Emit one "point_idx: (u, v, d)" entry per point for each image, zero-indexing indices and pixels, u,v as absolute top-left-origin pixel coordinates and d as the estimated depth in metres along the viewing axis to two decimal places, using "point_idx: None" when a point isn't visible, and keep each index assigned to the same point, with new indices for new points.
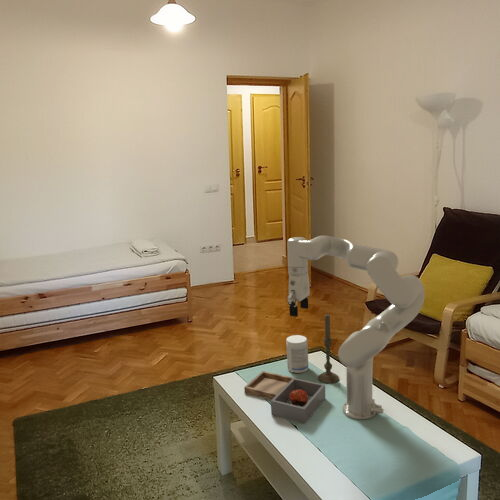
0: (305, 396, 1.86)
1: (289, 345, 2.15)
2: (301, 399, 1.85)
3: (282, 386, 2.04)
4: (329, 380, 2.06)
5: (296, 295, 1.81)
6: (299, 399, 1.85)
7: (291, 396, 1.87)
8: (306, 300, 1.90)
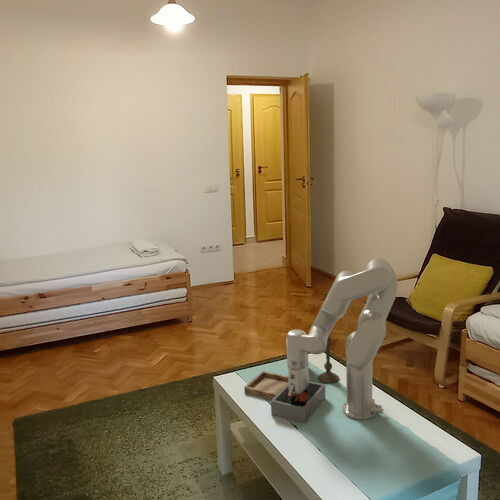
0: (305, 396, 1.86)
1: None
2: (301, 399, 1.85)
3: (282, 386, 2.04)
4: (329, 380, 2.06)
5: (296, 390, 1.82)
6: (299, 399, 1.84)
7: None
8: (305, 392, 1.90)
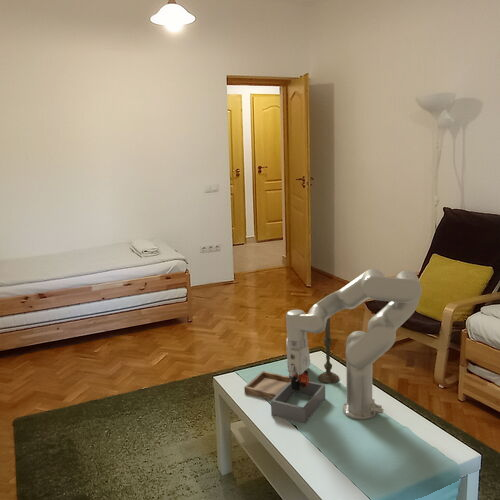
0: (306, 377, 1.84)
1: None
2: (302, 380, 1.83)
3: (282, 386, 2.04)
4: (329, 380, 2.06)
5: (297, 371, 1.80)
6: (299, 380, 1.83)
7: None
8: (306, 373, 1.88)
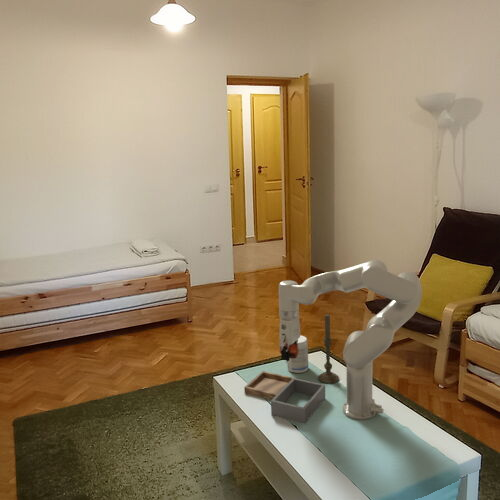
0: (295, 348, 1.85)
1: None
2: (291, 350, 1.84)
3: (282, 386, 2.04)
4: (329, 380, 2.06)
5: (287, 341, 1.81)
6: (289, 350, 1.84)
7: None
8: None
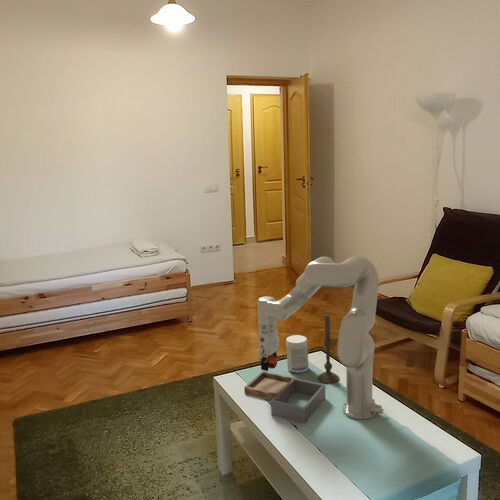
0: (274, 359, 1.99)
1: (289, 345, 2.15)
2: (270, 361, 1.98)
3: (282, 386, 2.04)
4: (329, 380, 2.06)
5: (265, 352, 1.95)
6: (268, 361, 1.98)
7: None
8: (275, 355, 2.04)
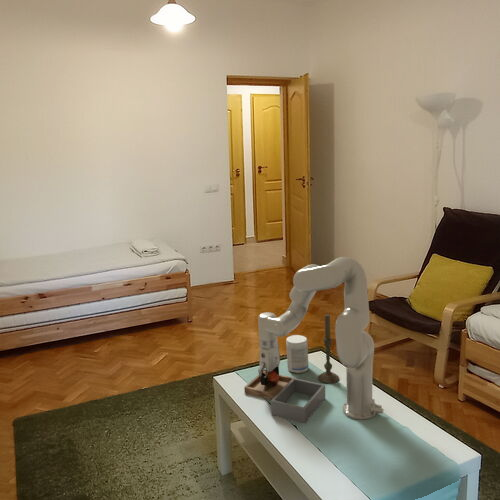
0: (276, 376, 2.01)
1: (289, 345, 2.15)
2: (272, 379, 2.00)
3: (282, 386, 2.04)
4: (329, 380, 2.06)
5: (266, 367, 1.97)
6: (270, 379, 2.00)
7: None
8: (277, 368, 2.06)
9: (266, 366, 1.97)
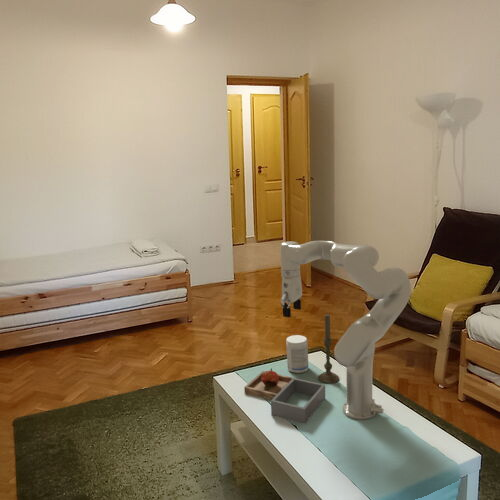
0: (276, 376, 2.01)
1: (289, 345, 2.15)
2: (272, 379, 2.00)
3: (282, 386, 2.04)
4: (329, 380, 2.06)
5: (289, 297, 1.90)
6: (270, 379, 2.00)
7: (263, 377, 2.02)
8: (299, 301, 1.99)
9: (289, 296, 1.90)
